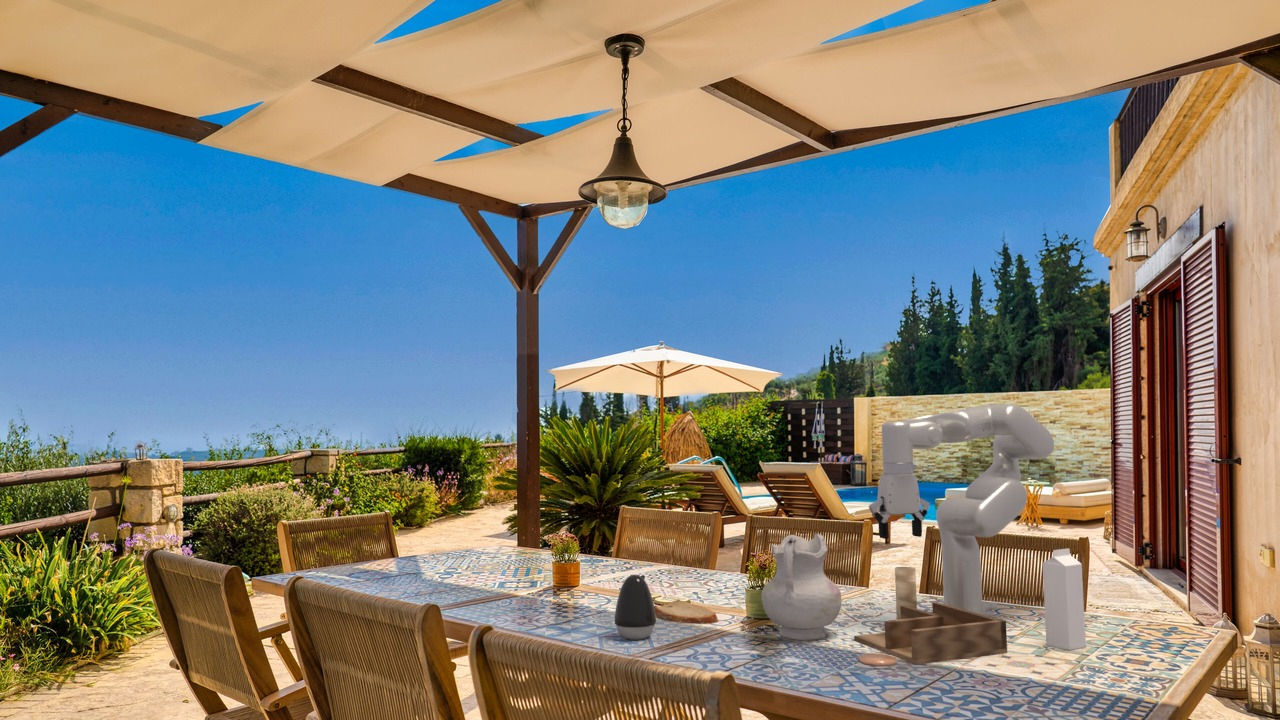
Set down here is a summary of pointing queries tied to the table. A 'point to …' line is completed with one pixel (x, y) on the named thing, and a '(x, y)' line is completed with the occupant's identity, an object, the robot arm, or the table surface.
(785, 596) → the ceramic pitcher
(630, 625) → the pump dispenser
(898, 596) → the beech peg
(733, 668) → the table surface
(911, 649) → the channel board
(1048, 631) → the milk
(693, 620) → the bread slice
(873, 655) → the pad
